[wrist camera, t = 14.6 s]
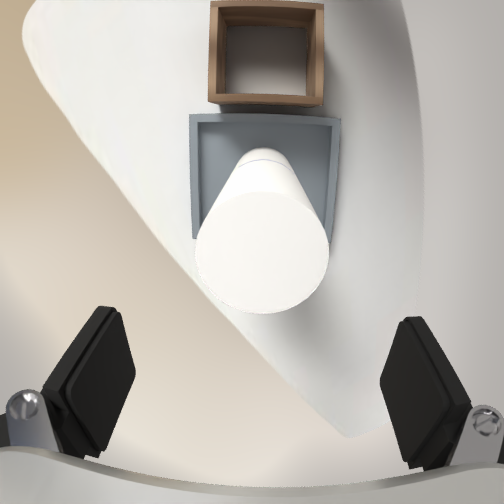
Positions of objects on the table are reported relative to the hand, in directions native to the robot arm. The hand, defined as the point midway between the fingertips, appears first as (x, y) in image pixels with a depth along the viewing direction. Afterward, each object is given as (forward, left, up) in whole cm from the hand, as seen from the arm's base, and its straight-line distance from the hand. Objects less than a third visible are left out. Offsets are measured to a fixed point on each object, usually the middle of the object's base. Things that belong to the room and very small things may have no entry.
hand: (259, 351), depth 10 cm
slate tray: (0, 0, -33) cm, 33 cm away
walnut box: (-15, 0, -33) cm, 36 cm away
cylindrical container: (0, 0, -33) cm, 33 cm away
